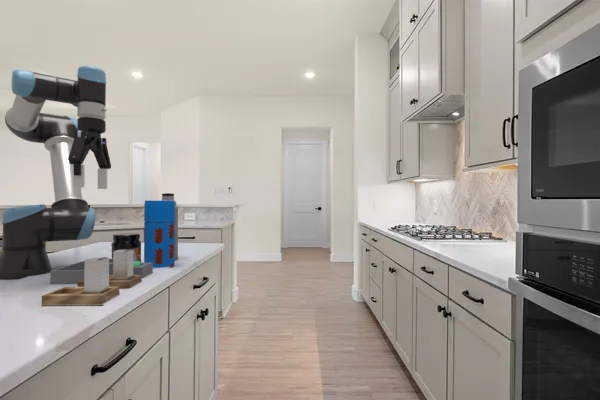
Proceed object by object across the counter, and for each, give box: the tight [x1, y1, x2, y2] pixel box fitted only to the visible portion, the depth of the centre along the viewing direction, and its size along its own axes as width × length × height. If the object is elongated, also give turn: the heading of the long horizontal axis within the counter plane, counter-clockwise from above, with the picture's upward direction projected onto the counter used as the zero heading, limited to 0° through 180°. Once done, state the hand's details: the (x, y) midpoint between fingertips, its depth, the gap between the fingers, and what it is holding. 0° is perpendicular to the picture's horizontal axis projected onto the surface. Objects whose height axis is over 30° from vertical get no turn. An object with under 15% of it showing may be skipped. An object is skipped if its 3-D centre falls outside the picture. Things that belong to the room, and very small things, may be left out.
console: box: [133, 262, 154, 279], centre depth 120 cm, size 9×9×4 cm
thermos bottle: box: [160, 192, 179, 261], centre depth 155 cm, size 8×8×28 cm
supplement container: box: [110, 232, 142, 263], centre depth 142 cm, size 10×10×12 cm
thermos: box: [143, 200, 176, 269], centre depth 139 cm, size 11×11×25 cm
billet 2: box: [113, 249, 133, 280], centre depth 107 cm, size 4×4×10 cm
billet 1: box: [83, 256, 110, 294], centre depth 92 cm, size 4×4×10 cm
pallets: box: [41, 275, 143, 307], centre depth 99 cm, size 14×24×2 cm, turn 2°
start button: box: [133, 261, 140, 266], centre depth 120 cm, size 4×4×3 cm
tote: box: [49, 258, 113, 285], centre depth 118 cm, size 12×22×4 cm, turn 2°
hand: (91, 188), depth 113 cm, fingers open, 13 cm apart
